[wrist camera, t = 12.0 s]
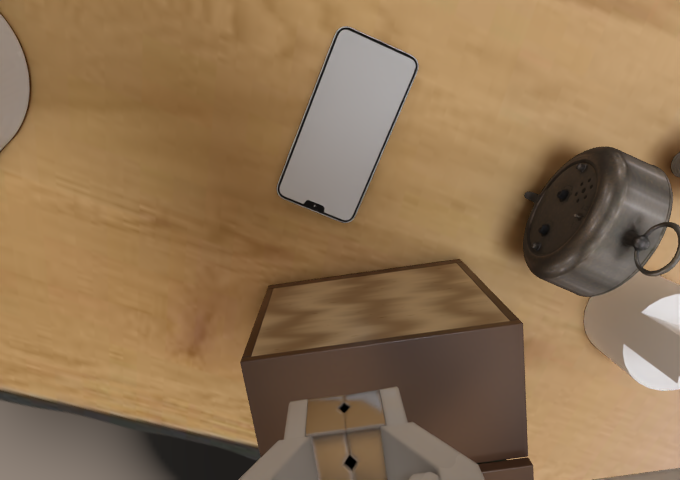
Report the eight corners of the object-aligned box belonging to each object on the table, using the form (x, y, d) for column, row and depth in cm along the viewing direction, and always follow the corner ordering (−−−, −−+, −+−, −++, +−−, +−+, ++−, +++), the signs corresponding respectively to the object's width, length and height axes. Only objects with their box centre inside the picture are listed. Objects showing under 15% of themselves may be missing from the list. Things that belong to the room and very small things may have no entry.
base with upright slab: (567, 340, 44) (653, 417, 33) (611, 257, 42) (718, 308, 31) (647, 367, 45) (757, 451, 34) (693, 287, 43) (827, 347, 32)
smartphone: (423, 60, 37) (351, 226, 40) (421, 61, 38) (351, 225, 41) (339, 21, 36) (272, 195, 39) (338, 23, 37) (273, 193, 40)
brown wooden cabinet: (289, 395, 45) (270, 522, 31) (268, 285, 42) (237, 368, 28) (468, 371, 45) (534, 487, 31) (460, 258, 42) (528, 328, 28)
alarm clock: (540, 268, 42) (665, 354, 27) (490, 246, 42) (587, 321, 26) (601, 160, 40) (779, 183, 24) (549, 135, 39) (696, 143, 24)
